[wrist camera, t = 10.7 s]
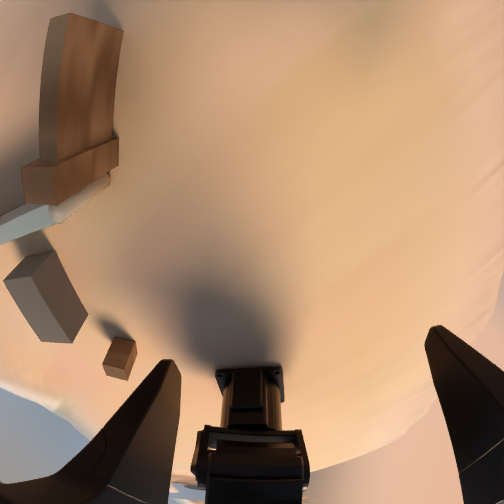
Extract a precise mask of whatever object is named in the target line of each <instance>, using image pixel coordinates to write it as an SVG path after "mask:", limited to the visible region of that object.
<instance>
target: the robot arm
mask: <svg viewBox="0 0 504 504" xmlns="http://www.w3.org/2000/svg"><path fill="white" fill-rule="evenodd" d="M425 351H426V354H427V358H428V362H429V366H430V370H431V375H432V379H433V383H434V386H435V389H436V392H437V395H438V398H439V401H440V404H441V407H442V410H443V414H444V417H445V421H446V424H447V428H448V431H449V435H450V438H451V442H452V446H453V450H454V454H455V459H456V463H457V467H458V472H459V478H460V483H461V489H462V495H463V501H464V504H504V371H502V370H501V369H500V368H499V367H497V366H496V365H495V364H493V363H492V362H491V361H489V360H488V359H487V358H485V357H484V356H483V355H482V354H480V353H479V352H478V351H476V350H475V349H474V348H472V347H471V346H470V345H468V344H467V343H466V342H464V341H463V340H461V339H460V338H459V337H457V336H456V335H455V334H453V333H452V332H450V331H449V330H448V329H446V328H445V327H443V326H442V325H437V326H433V327H431V328H430V330H429V332H428V335H427V338H426V340H425ZM215 377H216V380H217V383H218V385H219V388H220V391H221V393H222V396H223V402H222V413H221V424H220V427H213V426H211V425H205V426H204V430H202V431H198V433H197V440H196V447H195V451H194V455H193V459H192V463H191V472H192V473H193V474H194V475H195V476H196V481H198V488H201V489H206V496H205V504H302V492H303V491H306V489H307V487H308V484H309V479H310V466H309V460H308V456H307V452H306V447H305V443H304V439H303V435H302V431H301V429H300V430H289V431H285V430H282V420H281V403H282V402H284V385H283V370H282V368H281V367H266V368H250V369H226V370H216V371H215ZM180 398H181V373H180V371H179V369H178V367H177V366H176V364H175V362H174V361H173V360H172V359H162V360H161V361H160V362H159V363H158V364H157V365H156V366H155V367H154V369H153V370H152V371H151V372H150V373H149V374H148V376H147V377H146V378H145V379H144V380H143V381H142V383H141V384H140V385H139V386H138V387H137V388H136V390H135V391H134V392H133V393H132V394H131V395H130V396H129V398H128V399H127V400H126V401H125V402H124V403H123V405H122V406H121V407H120V408H119V409H118V410H117V412H116V413H115V414H114V415H113V416H112V417H111V419H110V420H109V421H108V422H107V423H106V424H105V426H104V427H103V428H102V429H101V430H100V431H99V432H98V434H97V435H96V436H95V437H94V438H93V439H92V440H91V441H90V442H89V444H87V445H86V447H84V448H83V449H82V450H81V451H80V452H79V453H78V454H77V455H76V456H75V457H74V458H73V459H72V460H71V461H69V462H68V463H67V464H66V465H65V466H64V467H63V468H62V469H60V470H59V471H58V472H57V473H55V474H53V475H50V476H48V477H44V478H39V479H34V480H29V481H24V482H18V483H12V484H4V483H2V482H1V481H0V504H168V496H169V488H170V480H171V472H172V465H173V458H174V451H175V444H176V437H177V431H178V424H179V417H180ZM211 448H214V449H216V450H211Z"/></svg>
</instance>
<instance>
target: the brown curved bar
mask: <svg viewBox="0 0 504 504" xmlns="http://www.w3.org/2000/svg"><path fill="white" fill-rule="evenodd" d="M122 35H123V31H122V30H119V29H117V28H114V27H111V26H108V25H106V24H103V23H100V22H97V21H94V20H91V19H88V18H85V17H82V16H78V15H75V14H72V13H68V14H64V15H61V16H57V17H54V18H51V19H50V23H49V28H48V33H47V39H46V45H45V51H44V58H43V66H42V76H41V88H40V105H39V148H40V159H38V160H36V161H33V162H31V163H29V164H27V165H25V166H23V167H21V173H22V183H23V191H24V198H25V203H30V204H41V205H52V206H57V205H59V204H60V203H61V202H63V201H64V200H66V199H67V198H69V197H70V196H71V195H73V194H74V193H76V192H77V191H79V190H80V189H82V188H83V187H85V186H86V185H88V184H89V183H91V182H92V181H94V180H95V179H97V178H98V177H100V176H102V175H103V174H105V173H106V172H108V171H110V170H111V169H113V168H115V167H116V166H118V151H119V138H112V128H113V110H114V97H115V86H116V76H117V68H118V60H119V53H120V47H121V40H122ZM136 356H137V348H136V344H135V341H130V340H126V339H121V338H117V337H114V339H113V341H112V343H111V345H110V348H109V350H108V352H107V354H106V357H105V359H104V361H103V363H102V365H103V368H104V370H105V373H106V375H107V376H111V377H114V378H118V379H122V380H126V381H128V378H129V376H130V373H131V370H132V367H133V364H134V361H135V359H136Z"/></svg>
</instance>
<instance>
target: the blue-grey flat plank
mask: <svg viewBox="0 0 504 504" xmlns="http://www.w3.org/2000/svg"><path fill="white" fill-rule="evenodd" d="M109 184H110V177H109V175H108V174H107V173H105V174H103V175H102V176H100V177H98V178H97V179H95V180H94V181H92V182H91V183H89V184H88V185H86V186H85V187H83V188H82V189H80V190H79V191H77V192H76V193H74V194H73V195H71V196H70V197H69V198H67V199H66V200H64V201H63V202H61V203H60V204H59V205H57V206H52V205H41V204H30V203H26V204H24V205H22V206H20V207H18V208H16V209H14V210H12V211H10V212H8V213H6V214H5V215H3V216H1V217H0V245H2V244H4V243H7V242H9V241H12V240H14V239H17V238H19V237H22V236H24V235H27V234H30V233H32V232H35V231H38V230H40V229H43V228H46V227H49V226H51V225H54V224H56V223H57V224H60V223H62V222H64V221H65V220H66V219H67V218H68V217H70V216H71V215H72V214H73V213H75V212H76V211H77V210H78V209H80V208H81V207H82V206H83V205H85V204H86V203H87V202H88V201H90V200H91V199H92V198H94V197H95V196H96V195H98V194H99V193H100V192H102V191H103V190H104V189H106V188H107V187H108V186H109Z"/></svg>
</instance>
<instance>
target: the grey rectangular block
mask: <svg viewBox="0 0 504 504" xmlns="http://www.w3.org/2000/svg"><path fill="white" fill-rule="evenodd" d="M3 282H4V283H5V285H6V287H7V289H8V291H9V292H10V294H11V296H12V297H13V299H14V301H15V303H16V304H17V306H18V307H19V309H20V311H21V312H22V314H23V315H24V317H25V318H26V320H27V321H28V323H29V325H30V326H31V327H32V329H33V330H34V332H35V333H36V335H37V336H38V338H39V339H40V340H41V342H54V343H73V341H74V339H75V337H76V335H77V334H78V332H79V330H80V328H81V327H82V325H83V323H84V321H85V320H86V318H87V316H88V313H87V311H86V310H85V308H84V306H83V304H82V303H81V301H80V299H79V297H78V295H77V294H76V292H75V290H74V288H73V286H72V284H71V282H70V280H69V278H68V276H67V274H66V272H65V270H64V268H63V266H62V264H61V262H60V260H59V258H58V256H57V253H56V251H50V252H46V253H41V254H37V255H32V256H28V257H25V258H24V259H23V260H22V261H21V262H20V263H19V264H18V265H17V266H16V268H15V269H14V270H13V271H12V272H11V273H10V274H9V275H8V276H7V277H6V278H5V279H4V280H3Z"/></svg>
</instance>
